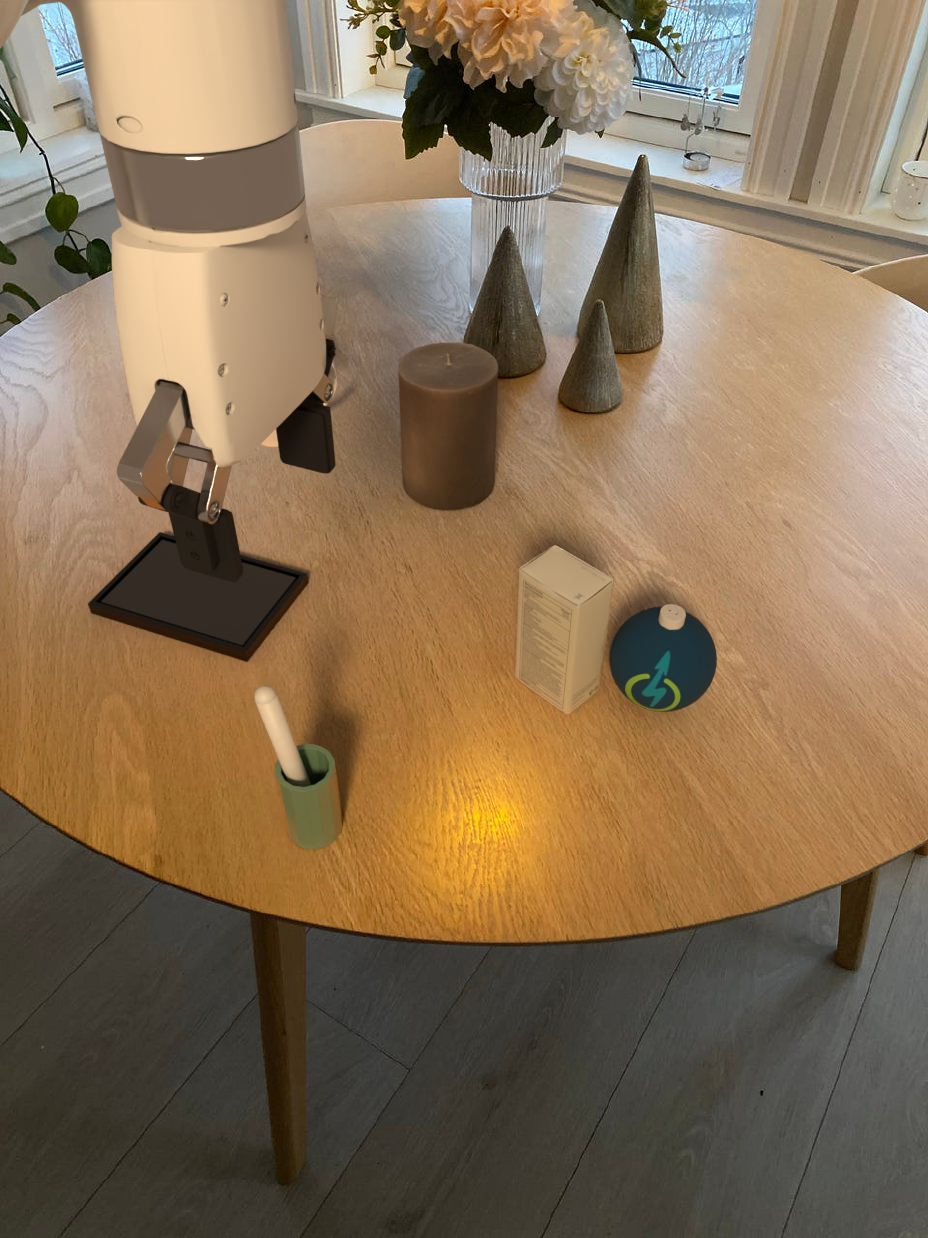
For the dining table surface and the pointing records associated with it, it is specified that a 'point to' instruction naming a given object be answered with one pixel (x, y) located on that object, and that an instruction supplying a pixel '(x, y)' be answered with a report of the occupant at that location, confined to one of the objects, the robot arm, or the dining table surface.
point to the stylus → (281, 736)
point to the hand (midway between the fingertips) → (263, 515)
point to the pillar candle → (448, 424)
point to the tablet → (193, 637)
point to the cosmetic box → (562, 627)
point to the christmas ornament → (663, 658)
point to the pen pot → (312, 800)
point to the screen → (199, 596)
